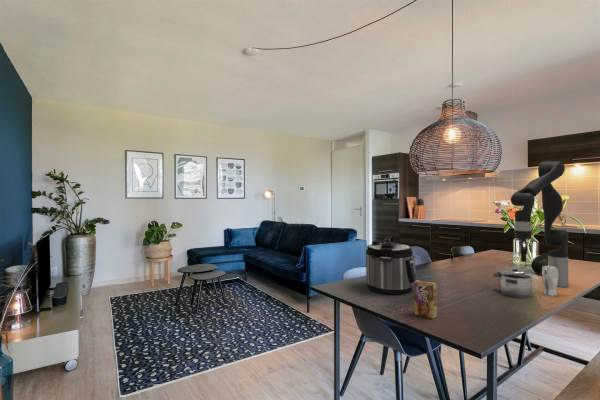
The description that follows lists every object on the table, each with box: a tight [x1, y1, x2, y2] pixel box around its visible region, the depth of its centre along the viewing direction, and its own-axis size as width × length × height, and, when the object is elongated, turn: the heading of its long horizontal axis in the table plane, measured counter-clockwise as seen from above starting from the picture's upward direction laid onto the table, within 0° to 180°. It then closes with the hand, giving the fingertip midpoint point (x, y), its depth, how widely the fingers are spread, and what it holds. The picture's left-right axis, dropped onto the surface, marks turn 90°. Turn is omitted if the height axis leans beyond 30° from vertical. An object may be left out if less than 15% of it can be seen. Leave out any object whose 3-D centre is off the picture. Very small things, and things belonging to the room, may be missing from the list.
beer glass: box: [541, 266, 559, 297], centre depth 167 cm, size 7×7×15 cm
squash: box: [530, 253, 548, 276], centre depth 209 cm, size 14×15×15 cm
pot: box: [493, 271, 533, 299], centre depth 170 cm, size 19×17×10 cm
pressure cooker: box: [365, 235, 417, 295], centre depth 183 cm, size 30×28×32 cm
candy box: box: [413, 279, 438, 319], centre depth 140 cm, size 9×4×15 cm, turn 47°
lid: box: [496, 268, 533, 275], centre depth 169 cm, size 15×16×2 cm
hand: (523, 261), depth 166 cm, fingers closed
